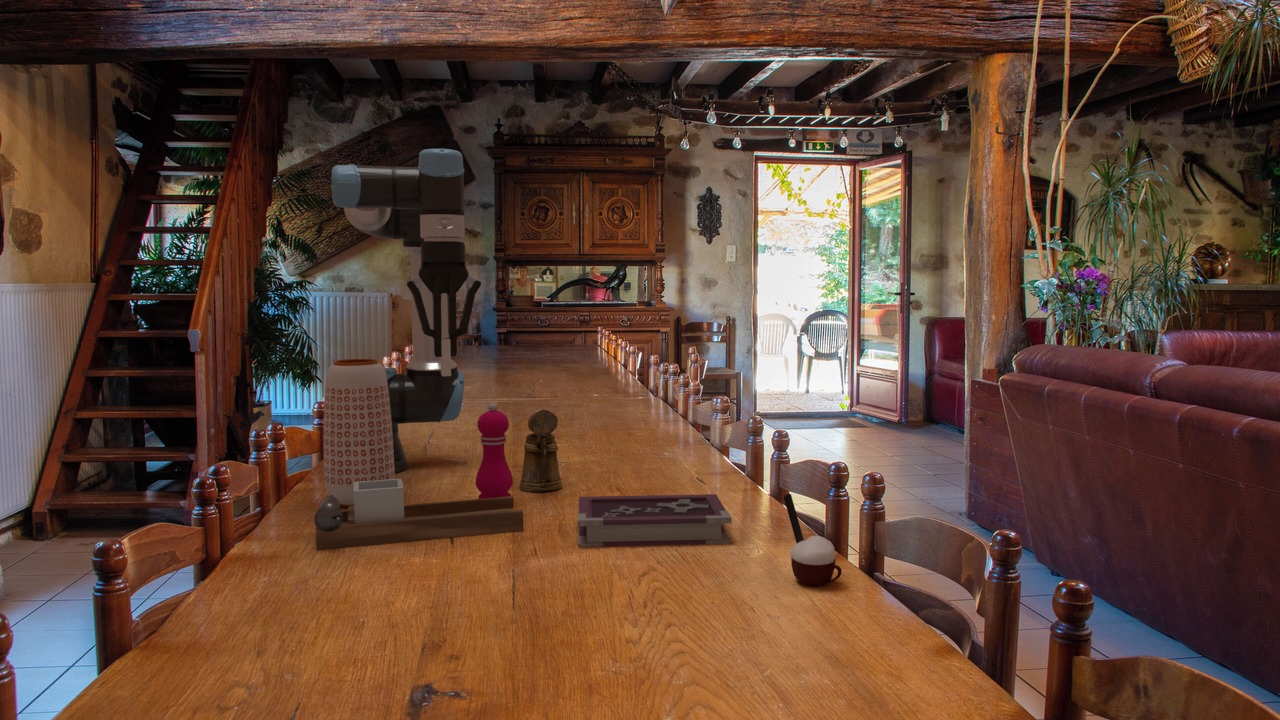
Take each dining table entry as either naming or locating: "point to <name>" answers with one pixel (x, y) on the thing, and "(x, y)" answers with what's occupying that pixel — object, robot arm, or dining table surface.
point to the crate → (378, 501)
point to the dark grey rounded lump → (328, 514)
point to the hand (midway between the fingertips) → (445, 375)
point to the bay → (427, 523)
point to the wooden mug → (541, 455)
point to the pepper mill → (493, 455)
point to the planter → (356, 427)
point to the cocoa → (810, 554)
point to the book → (651, 520)
